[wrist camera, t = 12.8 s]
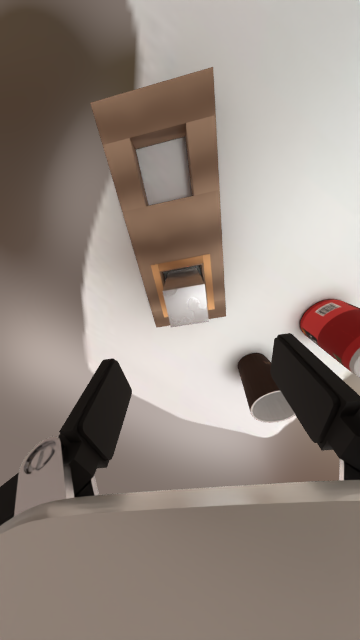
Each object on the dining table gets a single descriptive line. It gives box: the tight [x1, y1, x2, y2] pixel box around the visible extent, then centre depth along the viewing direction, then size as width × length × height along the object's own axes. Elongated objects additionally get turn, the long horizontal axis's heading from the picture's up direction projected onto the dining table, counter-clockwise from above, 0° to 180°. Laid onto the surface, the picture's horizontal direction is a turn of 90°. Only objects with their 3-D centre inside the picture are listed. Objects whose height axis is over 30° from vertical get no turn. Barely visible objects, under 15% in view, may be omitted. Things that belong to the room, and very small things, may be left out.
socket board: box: [90, 67, 226, 327], centre depth 22 cm, size 26×12×3 cm, turn 10°
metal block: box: [163, 267, 209, 327], centre depth 22 cm, size 4×4×10 cm
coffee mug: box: [238, 353, 295, 423], centre depth 31 cm, size 12×9×10 cm
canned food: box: [300, 299, 360, 377], centre depth 25 cm, size 8×8×11 cm
